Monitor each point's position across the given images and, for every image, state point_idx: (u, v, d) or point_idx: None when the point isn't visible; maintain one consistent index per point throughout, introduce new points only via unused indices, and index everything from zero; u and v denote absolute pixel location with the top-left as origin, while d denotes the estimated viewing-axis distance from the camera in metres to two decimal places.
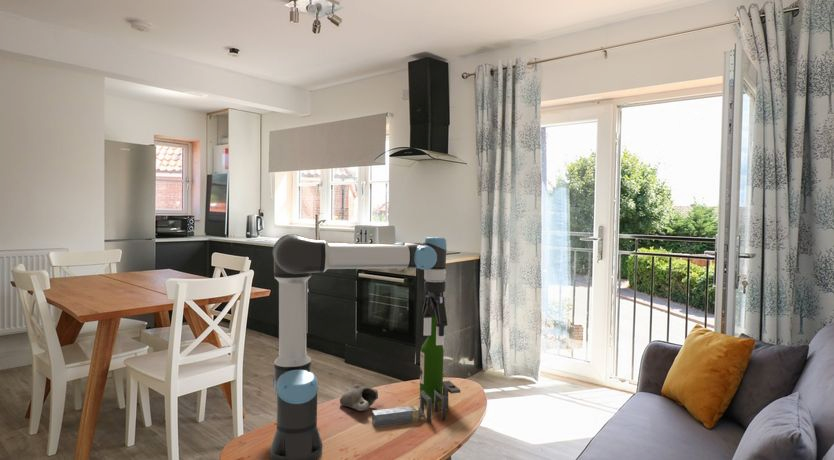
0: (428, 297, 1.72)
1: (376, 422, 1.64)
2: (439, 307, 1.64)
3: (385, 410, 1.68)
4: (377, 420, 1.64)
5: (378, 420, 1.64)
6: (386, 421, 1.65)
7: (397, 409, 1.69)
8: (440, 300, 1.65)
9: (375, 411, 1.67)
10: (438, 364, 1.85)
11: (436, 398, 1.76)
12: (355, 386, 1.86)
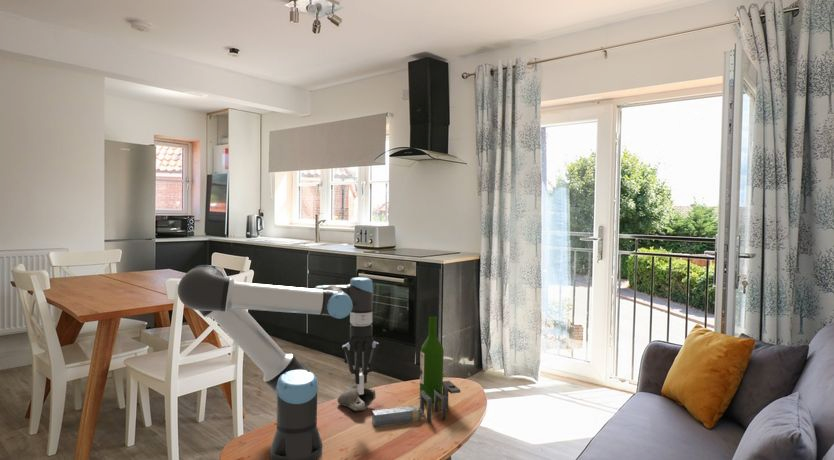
0: None
1: (376, 422, 1.64)
2: None
3: (385, 410, 1.68)
4: (377, 420, 1.64)
5: (378, 420, 1.64)
6: (386, 421, 1.65)
7: (397, 409, 1.69)
8: None
9: (375, 411, 1.67)
10: (438, 364, 1.85)
11: (436, 398, 1.76)
12: (353, 386, 1.87)
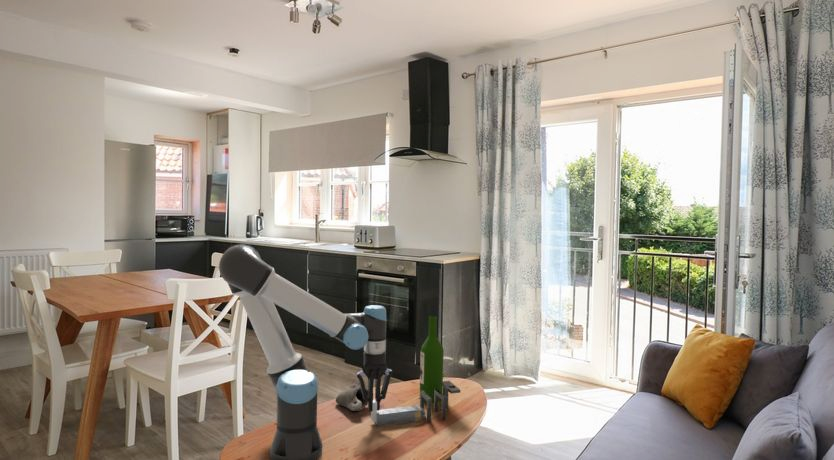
0: None
1: (378, 422, 1.64)
2: (359, 382, 1.64)
3: (387, 410, 1.68)
4: (379, 420, 1.64)
5: (381, 420, 1.64)
6: (388, 421, 1.65)
7: (399, 409, 1.69)
8: None
9: (377, 411, 1.67)
10: (438, 364, 1.85)
11: (436, 398, 1.76)
12: (352, 386, 1.87)
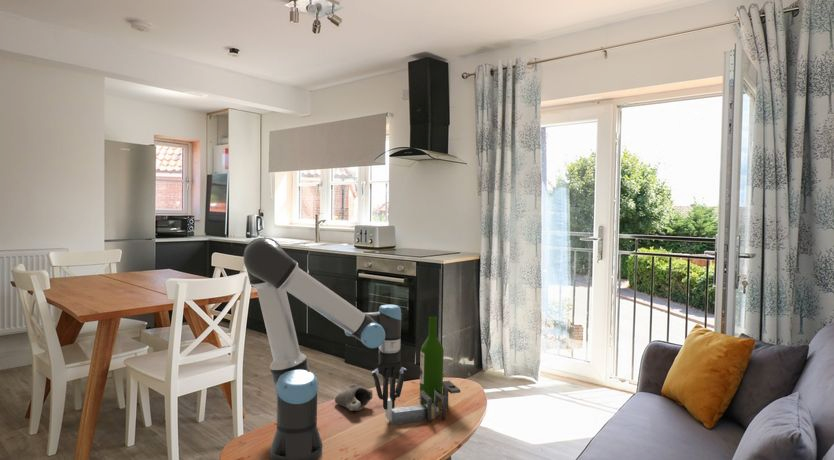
0: None
1: (393, 420, 1.66)
2: None
3: (402, 408, 1.70)
4: (394, 418, 1.66)
5: (396, 418, 1.66)
6: (403, 419, 1.67)
7: (413, 407, 1.71)
8: (372, 375, 1.65)
9: (392, 409, 1.69)
10: (438, 364, 1.85)
11: (436, 398, 1.76)
12: (351, 386, 1.87)
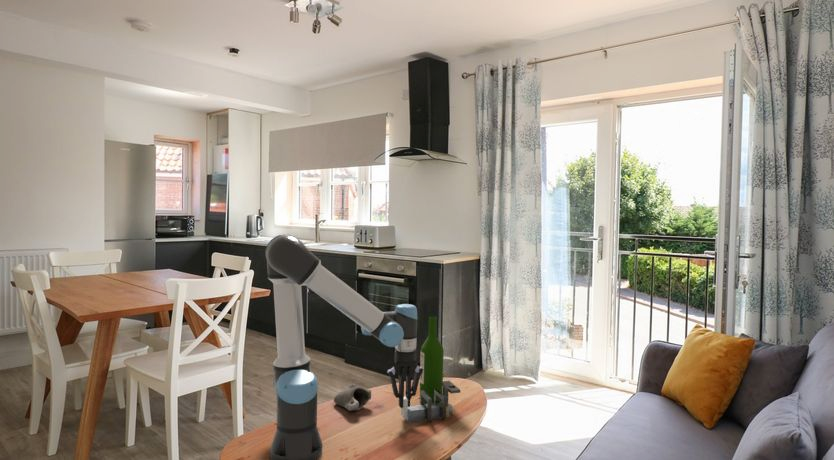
0: None
1: (409, 418, 1.68)
2: (390, 379, 1.68)
3: (417, 406, 1.72)
4: (410, 416, 1.68)
5: (411, 416, 1.68)
6: (418, 417, 1.69)
7: None
8: None
9: None
10: (438, 364, 1.85)
11: (436, 398, 1.76)
12: (350, 386, 1.87)
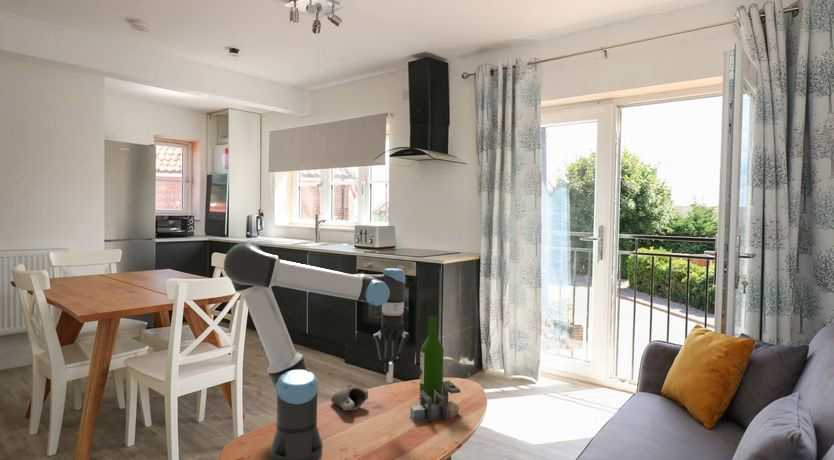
0: None
1: (415, 417, 1.68)
2: (376, 343, 1.66)
3: (423, 406, 1.72)
4: (416, 415, 1.68)
5: (417, 415, 1.69)
6: (424, 417, 1.70)
7: (434, 405, 1.73)
8: None
9: (413, 407, 1.71)
10: (438, 364, 1.85)
11: (436, 398, 1.76)
12: (349, 385, 1.87)
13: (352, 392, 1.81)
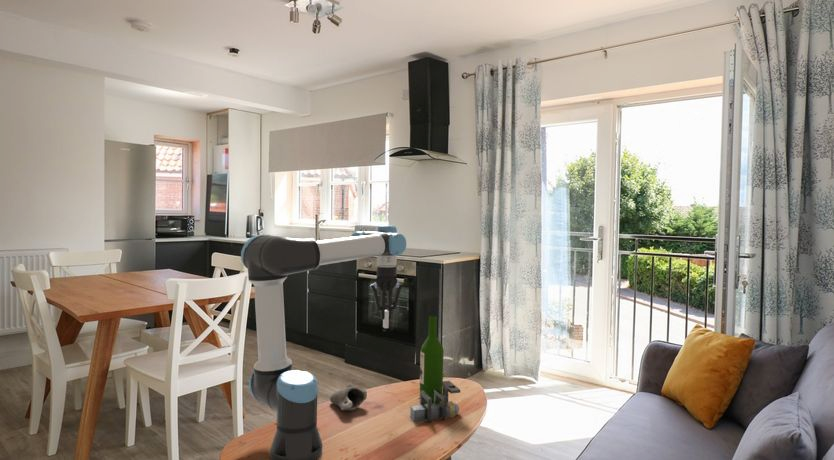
0: None
1: (415, 417, 1.68)
2: (373, 293, 1.84)
3: (423, 406, 1.72)
4: (415, 415, 1.68)
5: (417, 415, 1.69)
6: (424, 416, 1.70)
7: (434, 405, 1.73)
8: (371, 288, 1.83)
9: (413, 406, 1.71)
10: (438, 364, 1.85)
11: (436, 398, 1.76)
12: (348, 385, 1.87)
13: (351, 392, 1.81)
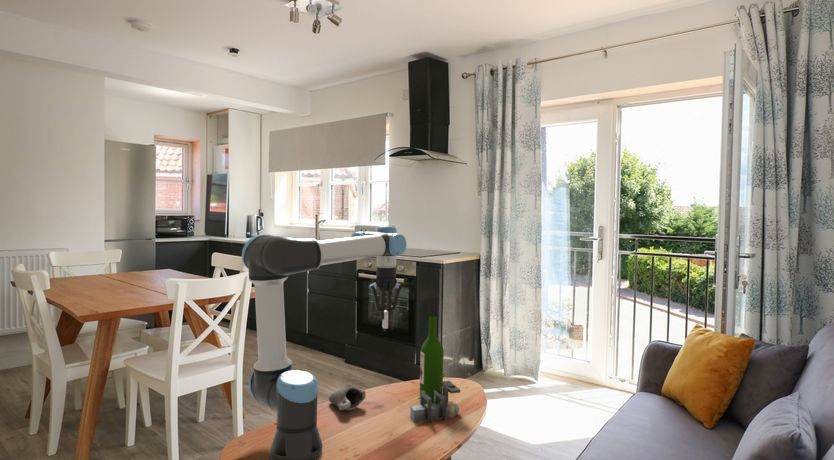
0: None
1: (415, 417, 1.68)
2: (372, 293, 1.84)
3: (423, 406, 1.72)
4: (415, 415, 1.68)
5: (417, 415, 1.69)
6: (424, 417, 1.70)
7: (434, 405, 1.73)
8: (370, 288, 1.83)
9: (413, 406, 1.71)
10: (438, 364, 1.85)
11: (436, 398, 1.76)
12: (347, 385, 1.87)
13: (350, 392, 1.81)
